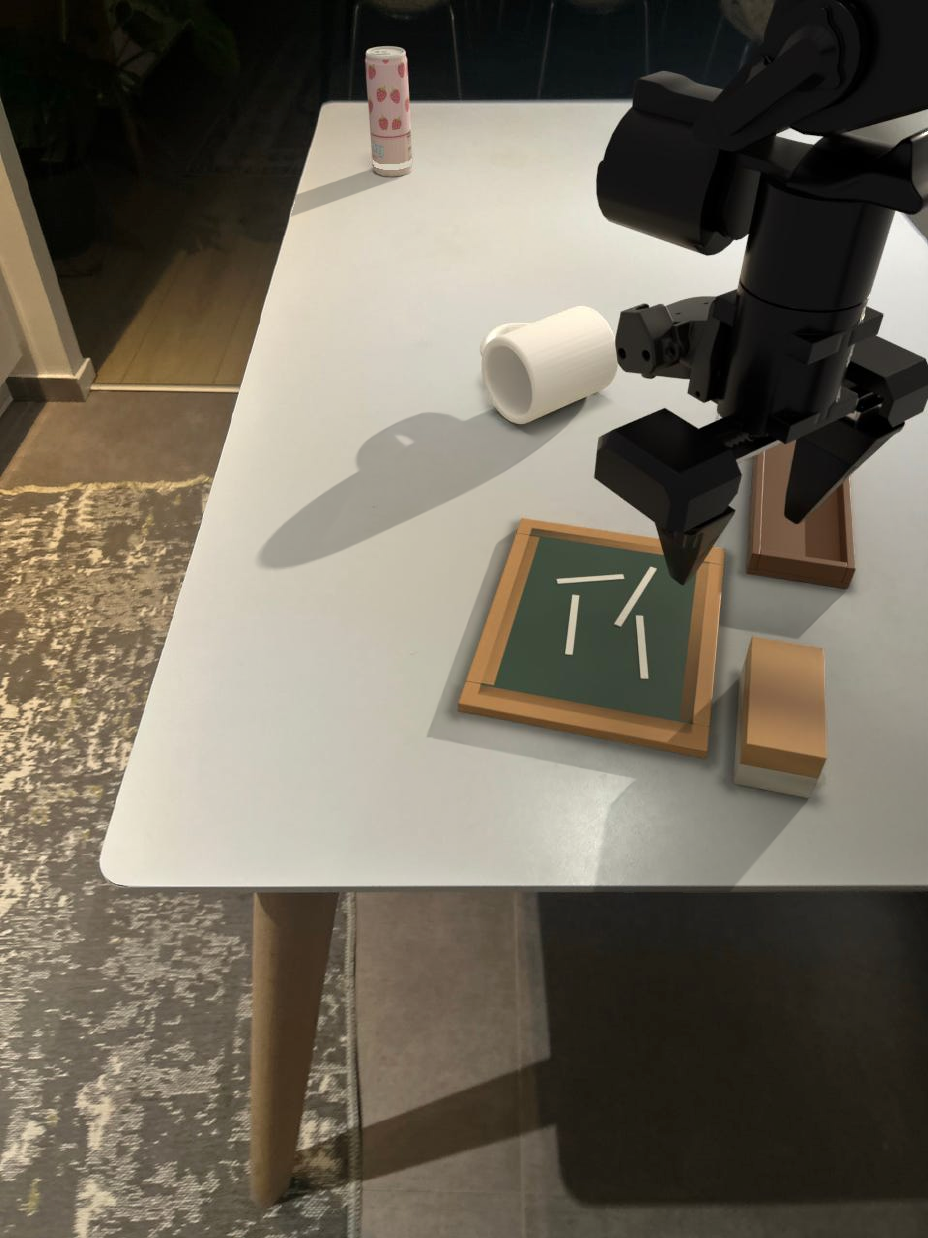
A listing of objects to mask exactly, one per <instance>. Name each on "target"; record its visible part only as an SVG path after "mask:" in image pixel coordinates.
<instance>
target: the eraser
mask: <svg viewBox="0 0 928 1238" xmlns="http://www.w3.org/2000/svg"><path fill="white" fill-rule="evenodd" d="M745 654H746V655H745V657H744V662H743V665H742V668H741V672H740V674H739V679H738V681H739V682H738V696H737V697H738V699H737V712H736V714H737V717H736V730H735V731H736V732H735V745H734V746H735V748H734V764H733V766H734V767H733V779H732V780H733V781H732V782H733V784H734V785H737V786H744V787H748V788H753V789H759V790H763V791H764V790H765V791H768V792H769V791H770V792H773V793H779V794H785V795H790V796H794V797H799V798H803V799H810V798H811V796H812V794H813V792H814V790H815V787H816V785H817V782H818V781H819V777H820V776H821V773H822V771H823V768H824V766H825V765H826V762H827V760H828V745H827V744H828V743H827V742H828V741H827V708H826V707H827V704H826V702H827V701H826V676H825V675H826V673H825V671H826V668H825V648H824V647H819V646H815V645H814V646H812V645H809V644H808V645H807V644H801V643H794V642H790V641H789V642H788V641H784V640H777V639H771V638H766V637H765V638H764V637H761V636H760V637H759V636H753V635H752V636H751V638H750V642H749V645H748V648H747V651H746V653H745Z"/></svg>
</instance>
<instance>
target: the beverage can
mask: <svg viewBox="0 0 928 1238" xmlns="http://www.w3.org/2000/svg"><path fill="white" fill-rule="evenodd" d="M406 52H407V51H406V50H405V49H404V48H403V47H399V46H394V45H393V46H391V45H385V46H384V45H383V46H376V47H371V48H368V49H367V50H366V52H365V59H364V65H365V79H366V92H367V106H368V120H369V121H368V122H369V132H370V147H371V160H372V159H373V160H374V161H375V162H377V163H379V164H400V163H404V162H406V161H409V160H410V159H411V158H412V159H413V150H412V149H413V147H412V132H411V131H412V128H411V110H410V108H411V107H410V90H409V89H410V88H409V70H408V69H409V68H408V58H407V55H406ZM413 167H414V166H413V163H412V164H411V166H409V167H407V168H404V169H399V170H383V169H379V168H376V167H374V166H373V165H372V170H373V171H374V172H375V173H376V174H377V175H378V176H381V177H387V178H388V177H394V178H395V177H401V176H402V177H403V176H405V175H407V174H409V173H410V172H411V171H412V170H413Z"/></svg>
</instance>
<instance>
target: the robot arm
mask: <svg viewBox="0 0 928 1238" xmlns="http://www.w3.org/2000/svg"><path fill="white" fill-rule="evenodd" d="M762 41H763V42H761V44H760V45H759V46H758V47H757V49H756V50H755V51H754V52H753V53H752V55H751V56H750V57H749V58H748V60H747V61H745V63H744V64H743V66H742V67H741V68H740V69H739V70H738V71H737V72H736V74H734V76H733V77H732V78H731V80H729V82H728V83H727V84H726V86H725V87H724V88H719V87H714V86H710V85H706V84H703V83H702V84H701V83H698V82H695V81H694V80H692V79H690V78H689V77H687V76H686V75H683V74H680V73H676V72H671V71H667V70H661V71H658V72H655V73H651V74H648V75H646V76H645V75H644V76H641V77H640V78H638V79H636V80H635V81H634V85H633V95H632V104H631V107H630V108H628V110H627V111H626V112H625V114H624V115H623V116H622V117H621V118H620V120H619V121H618V123H617V125H616V127H615V128H614V130H613V131H612V134H611V136H610V138H609V141H608V143H607V145H606V148H605V152H604V154H603V158H602V160H601V161H599V163H598V164H597V170H596V178H595V189H596V191H595V194H596V199H597V204H598V209H599V210H600V212H601V214H602V216H603V217H604V218H605V219H606V220H607V221H608V222H610V223H611V224H614V225H617V226H620V227H623V228H626V229H629V230H632V231H634V232H637V233H640V234H643V235H646V236H649V237H652V238H655V239H658V240H661V241H663V242H666V243H669V244H671V245H675V246H677V247H680V248H683V249H685V250H689V251H692V252H695V253H697V254H700V255H703V256H706V257H709V256H715V255H718V254H719V253H721V252H723V251H724V250H725V249H726V248H728V247H729V246H730V245H731V244H732V243H733V242H734V241H739V240H742V239H744V238H745V237H746V236H747V239H746V243H745V250H744V255H743V260H742V264H741V268H740V269H741V270H740V274H739V278H738V283H737V288H735V289H734V290H732V289H731V290H730V291H727V292H724V293H722V294H719V295H717V296H716V295H711V296H710V295H705V296H704V295H703V296H694V297H693V296H692V297H688V298H684V299H681V300H677V301H675V302H672V303H669V304H665V303H657V304H655V305H653V306H650V304H649V303H646V302H645V303H641V304H638V305H634V306H632V307H629V308H627V309H624V310H621V311H620V313H619V319H618V323H617V328H616V333H615V336H614V337H615V347H616V354H617V362H618V367H620V368H621V370H622V371H623V372H625V373H629V374H638V375H641V377H642V378H644V379H647V380H648V379H649V380H653V379H654V378H657V377H660V378H661V377H663V378H669V379H670V378H671V379H680V380H689V381H688V387H687V391H686V393H687V395H690V397H693V398H695V399H696V400H697V401H699V402H701V403H702V404H706V403H709V402H713V403H714V404H716V405H717V406H716V412H717V414H718V415H719V417H720V418H719V419H717V420H715V421H712V422H709V423H708V424H706V425H704V426H701V427H699V428H698V427H697V426H695V425H694V424H692V423H690V422H689V421H687V420H686V419H684V418H682V417H681V416H679V415H677V414H676V413H675V412H673V411H671V410H669V409H668V408H666V407H663V408H661V409H659V410H656V411H654V412H651V413H648V414H646V415H645V416H642V417H640V418H637V419H635V420H633V421H631V422H628V423H626V424H623V425H621V426H618V427H616V428H613V429H611V430H610V431H608V432H605V433H604V434H602V435H600V436H599V437H597V444H596V445H597V446H596V454H595V463H594V474H593V478H594V480H596V481H597V482H598V483H599V484H602V485H603V487H606V488H607V489H609V490H610V491H611V492H613V493H614V494H615V495H616V496H617V497H619V498H621V499H622V501H624V502H626V503H627V504H629V505H630V506H631V507H633V508H634V509H635V510H636V511H638V512H640V513H641V514H642V515H643V516H645V517H646V518H648V519H649V520H651V521H652V522H653V523H654V525H655V527H656V528H655V529H656V532H657V536H658V539H659V540H660V543H661V547H662V550H663V554H664V557H665V561H666V565H667V568H668V572H669V575H670V576H671V578H672V579H674V580H675V581H676V582H678V583H679V584H680V585H685V584H687V583H688V582H689V581H690V580H691V578H692V577H693V576H694V574H695V573H696V572H697V571H698V569H699V568H700V566H701V565H702V563H703V561H704V560H705V558H706V557H707V555H708V554H709V552H710V551H711V549H712V547H715V544H716V543H717V541H718V539H719V538H720V537H721V535H722V534H723V533H724V531H725V530H726V528H727V526H728V525H729V523H730V522H731V520H732V519H733V517H734V516H735V513H736V509H735V508H733V507H732V506H731V505H730V504H731V503H732V501H733V500H734V499H735V498H736V496H737V495H738V493H739V490H740V485H741V481H742V478H743V473H742V471H741V469H740V466H739V464H741V463H742V462H745V461H747V460H749V459H751V458H753V457H754V456H755V455H757V454H759V453H761V452H763V451H766V450H768V449H770V448H772V447H774V446H776V445H778V444H780V443H784V444H788V443H790V442H792V441H794V440H796V443H795V448H794V453H793V459H792V464H791V469H790V474H789V480H788V485H787V490H786V497H785V507H784V516H785V518H787V519H788V520H790V521H791V522H793V523H794V524H800V523H801V522H803V521H804V520H805V519H806V518H807V517H808V516H809V515H810V514H811V513H812V512H813V511H814V510H815V509H816V508H817V507H818V506H819V505H820V504H821V503H822V502H823V501H824V500H825V499H826V498H827V497H828V496H829V495H830V494H831V493H833V492H834V491H835V490H836V489H837V488H838V487H839V486H840V485H841V484H842V483H843V482H844V481H845V480H846V479H847V478H848V477H849V476H852V474H853V473H855V472H856V471H857V470H858V469H859V468H860V467H861V466H862V465H863V464H865V462H867V460H868V459H869V458H871V457H872V456H873V455H874V454H875V453H876V452H877V451H878V450H879V449H881V448H882V447H883V445H884V444H886V443H887V442H888V441H889V440H890V439H891V438H892V437H894V436H895V435H897V434H899V433H900V432H901V431H903V429H904V427H905V425H906V421H908V420H910V419H912V418H914V417H916V416H918V415H920V414H922V413H924V410H925V408H926V405H927V403H928V361H927V358H926V357H923V356H922V355H920V354H917V353H915V352H913V351H911V350H909V349H906V348H905V347H903V346H900V345H898V344H895V343H893V342H891V341H889V340H888V339H885V338H883V337H881V336H879V335H878V334H879V331H880V328H881V325H882V323H883V319H884V316H885V313H883V312H881V311H879V310H877V309H875V308H872V307H870V306H868V302H869V299H870V296H871V293H872V289H873V286H874V282H875V279H876V276H877V274H878V270H879V267H880V263H881V260H882V257H883V253H884V250H885V248H886V244H887V240H888V237H889V234H890V231H891V228H892V224H893V221H894V217H895V214H896V212H898V213H901V214H906V215H908V216H914V215H917V214H920V213H921V212H924V211H925V210H926V209H928V127H924V128H923V129H921V130H918V131H917V132H913V133H912V134H910V135H908V136H905V137H904V138H902V139H901V140H899V142H897V143H891V142H887V141H883V140H879V139H876V138H871V137H866V136H864V135H863V136H862V135H858V134H855V133H850V132H853V131H856V130H857V131H858V130H860V129H864V128H868V127H872V126H875V125H878V124H881V123H885V122H889V121H894V120H896V119H900V118H903V117H908V116H911V115H915V114H917V113H921V112H924V111H927V110H928V0H776V1H775V2H774V4H773V7H772V9H771V12H770V15H769V17H768V21H767V23H766V26H765V29H764V32H763V40H762ZM787 130H793V131H795V132H797V133H799V134H801V135H803V136H804V135H805V136H813V137H821V138H820V139H818V140H817V141H816V142H815V143H814V144H813V143H807V142H802V141H797V140H793V139H791V138H786V137H782V136H779V135H778V134H780V133H783V132H785V131H787Z"/></svg>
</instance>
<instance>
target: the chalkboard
mask: <svg viewBox="0 0 928 1238" xmlns="http://www.w3.org/2000/svg"><path fill="white" fill-rule="evenodd" d="M725 556H726V548H722V547H716V546H713V547H712V549H711V551H710V552H709V554H708V555H707V557H706V558H705V560H704V561H703V563H702V565H701V566H700V568H699V569H698V571H697V572H696V573H695V574H694V576H693V577H692V578H691V580H690V581H689V582H688V583H687V584H685V585H680V584H679V583H678V582H676V581H675V580H674V579H672V578H671V576H670V575H669V572H668V568H667V565H666V561H665V557H664V554H663V550H662V547H661V543H660V540H659V538H657V537H650V536H643V535H639V534H638V535H637V534H632V533H625V532H624V533H623V532H617V531H611V530H603V529H597V528H591V527H585V526H584V527H583V526H578V525H571V524H564V523H558V522H551V521H546V520H545V521H544V520H538V519H531V518H524V517H521V518H520V521H519V524H518V527H517V530H516V532H515V536H514V538H513V542H512V545H511V548H510V550H509V554H508V557H507V560H506V562H505V565H504V568H503V570H502V574H501V577H500V579H499V583H498V586H497V588H496V592H495V594H494V597H493V600H492V603H491V606H490V609H489V612H488V615H487V617H486V620H485V623H484V627H483V629H482V632H481V635H480V638H479V641H478V644H477V647H476V650H475V653H474V655H473V658H472V662H471V665H470V668H469V670H468V673H467V676H466V679H465V682H464V685H463V688H462V690H461V693H460V696H459V699H458V701H457V709H458V712H463V713H468V714H474V715H479V716H484V717H489V718H495V719H499V720H500V719H501V720H504V721H509V722H516V723H521V724H525V725H530V726H535V727H541V728H546V729H552V730H557V731H561V732H568V733H572V734H577V735H583V736H588V737H593V738H598V739H603V740H607V741H608V740H609V741H612V742H619V743H623V744H629V745H633V746H634V745H635V746H638V747H639V746H640V747H644V748H649V749H655V750H660V751H665V752H671V753H675V754H681V755H686V756H691V757H695V758H696V757H697V758H701V759H706V758H707V754H708V750H709V742H710V741H709V740H710V728H711V718H712V706H713V695H714V685H715V683H714V682H715V671H716V661H717V660H716V659H717V648H718V638H719V637H718V636H719V624H720V613H721V602H722V591H723V579H724V568H725V567H724V565H725Z"/></svg>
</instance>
